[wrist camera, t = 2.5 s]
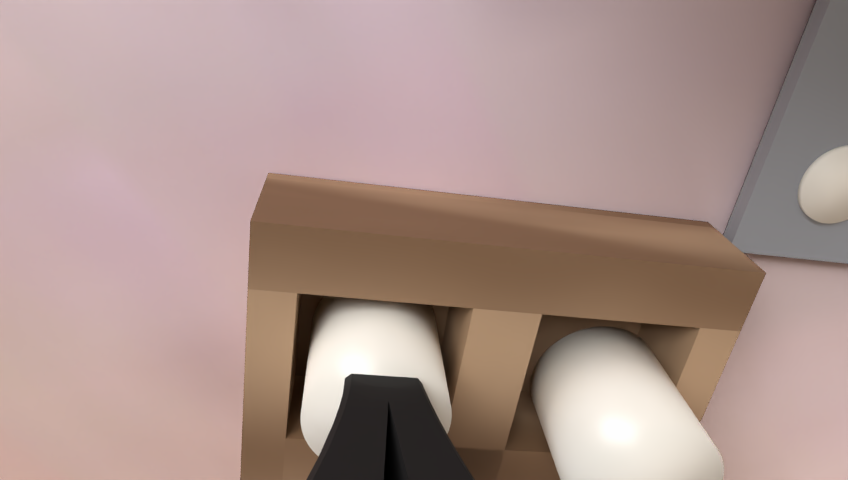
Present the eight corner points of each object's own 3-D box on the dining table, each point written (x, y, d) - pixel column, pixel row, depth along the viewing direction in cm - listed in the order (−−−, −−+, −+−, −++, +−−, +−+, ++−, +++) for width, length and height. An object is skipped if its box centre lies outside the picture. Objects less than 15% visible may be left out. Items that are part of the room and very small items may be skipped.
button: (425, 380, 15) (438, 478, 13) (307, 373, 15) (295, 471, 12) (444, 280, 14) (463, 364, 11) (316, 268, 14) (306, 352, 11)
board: (576, 567, 20) (601, 645, 18) (248, 559, 19) (234, 642, 16) (707, 221, 15) (766, 273, 13) (268, 172, 13) (250, 220, 11)
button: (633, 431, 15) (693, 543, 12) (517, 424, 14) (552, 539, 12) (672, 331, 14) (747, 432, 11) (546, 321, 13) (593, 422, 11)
